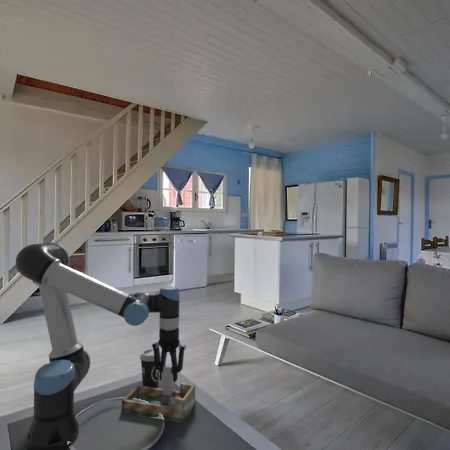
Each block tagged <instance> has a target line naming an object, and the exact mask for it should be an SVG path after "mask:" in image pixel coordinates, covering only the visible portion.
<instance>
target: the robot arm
mask: <svg viewBox="0 0 450 450" xmlns="http://www.w3.org/2000/svg"><path fill="white" fill-rule="evenodd" d="M69 257H70V256H69V252H68V251H67V249H66V248H65V247H64V246H63V245H61V244H58V243H56V242H44V243H33V244H28V245H26V246H24V247H22V248H21V250H20V251H19V252H18V253H17V254H16V257H15V267H16V270H17V271H18V273H19V274H20V275H22V276H23V277H24V278H26V279H28V280H30V281H32V283H33V284H34V285H36V286H37V287H38V289H39V293H40V298H41V302H42V303H41V304H42V307H43V312H44V317H45V322H46V327H47V330H48V336H49V341H50V345H51V351H50V353H49V354H48V360H49V363H45V364H44V365H42V366H40V367H39V368H38V369H37V371H36V373H35V375H34V380H33V419H32V422H31V426H30V429H29V431H28V434H27V437H26V449H27V450H62V449H65V448H66V447H68V446H69V445H67V441H70V442H72V443H73V442H75V441H76V440H77V438H78V436H79V432H80V425H79V422H78V420H77V417H76V414H75V410H74V403H75V402H74V401H75V390H77V388H78V387H79V385H80V384H81V382H83V380H84V379H85V377H86V376H87V374H88V373H89V370H90V368H91V358H90V355H89V353H88V352H87V351H86V350H85V349H84V345H83V343H82V342H80V341H78V338H77V333H76V328H75V324H74V319H73V314H72V309H71V304H70V301H69V300H70V299H69V294H70V295H72V296H73V297H77V298H79V299H80V300H83V301H85V302H88V303H90V304H92V305H95V306H97V307H99V308H102V309H103V310H106V311H108V312H110V313H113V314H114V315H117V316H119V317H121V318H123V319H124V321H125V322H126V324H127V325H129V326H131V327H132V326H133V327H136V326H141V325H142V324H143V323H144V322H145V321H146V320H147V319H148V318H149V315H150V314H151V313H153V314H154V313H159V320H158V321H159V325H158V327H159V333H158V334H159V335H158V337H159V339H158V341H155V342H153V343H152V344H151V347H152V349H153V350H154V362H155V369H156V370H159V381H161V388H160V389H161V390H163V367H164V366H165V365H166V364H167V363H166V361H167V355H168V353H169V355H170V362H171V364H172V370H173V372H172V373H171V391H173V390H174V389H175V390H176V382H177V381H178V379H179V378H178V374H179V373H180V372H182V370H183V368H184V356H185V355H184V354H185V350H186V347H187V346H186V344H182V343H181V341H180V328H179V327H180V301H181V300H180V299H181V298H180V289H179V288H178V287H177V286H169V285H168V286H162V287H160V288H159V291H158V292H139V291H138V292H130V293H126V292H124V291H122V290H120V289H118V288H116V287H114V286H111V285H109V284H106V283H104V282H102V281H100V280H98V279H96V278H94V277H92V276H89V275H88V274H85V273H82V272H81V271H78V270H76V269H74V268H71V267H69V266H68V264H69V260H70V258H69ZM160 349H161V350H160ZM177 349H178V351H179V352H178V358H177ZM159 350H160V351H159ZM160 353H161V354H162V355H161V361H160Z"/></svg>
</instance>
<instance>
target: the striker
mask: <svg viewBox="0 0 450 450" xmlns="http://www.w3.org/2000/svg"><path fill="white" fill-rule="evenodd" d="M172 372H173V370H172V363H165V366H164V367H163V395H162V397H161V405H164V406H169V398H170V397H175V391H176V388H175V389H174V390H173V391H171V373H172Z"/></svg>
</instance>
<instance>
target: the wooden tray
mask: <svg viewBox="0 0 450 450" xmlns="http://www.w3.org/2000/svg"><path fill="white" fill-rule="evenodd" d="M161 389H162V388H158V387H157V388H152V387H145V386H143V385H137V386H136V387H134V388H133V390H131V391H130V392H129V393H128V394H127V395H126V396H125V397H124V398H123V399H122V400H121V410H120V413H121V414H123V413H124V414H125V415H129V414H132V415H131V416H135V415H139V416H138V417H140V416H145V417H144V418H146V417H158V416H159V415H158V414H159V413H161V414H162V415H163V417H164V419H165V421H166V422H172V423H176V424H183V425H184V424H185V423H186V420H187V419H188V417H189V416H190V414H191V412H192V411H193V409H194V407H195V406H196V384H193V383H186V382H180V383H179V390H175V397H177V396H179V397H181V398H182V399H181V398H175V397H170V398H169V406H164V405H161V397H162V395H163V390H161ZM133 398H137V399H141V400H145V401H148V402H149V403H145V402H139V401H132V399H133ZM124 414H123V415H124Z"/></svg>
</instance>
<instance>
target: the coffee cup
mask: <svg viewBox="0 0 450 450" xmlns="http://www.w3.org/2000/svg"><path fill="white" fill-rule="evenodd" d="M159 351H160V362H161V355H162V354H161V350H160V349H159ZM139 360H140V361H141V362H140V363H141V376H142V377H141V378H142V386H145V387H152V388H158V386H159V381H160V371H159V370H156V369H155V362H154V350H153V348H148V349H147V348H146V349H145V350H143V351H142V352H141V354H140V355H139Z"/></svg>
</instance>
